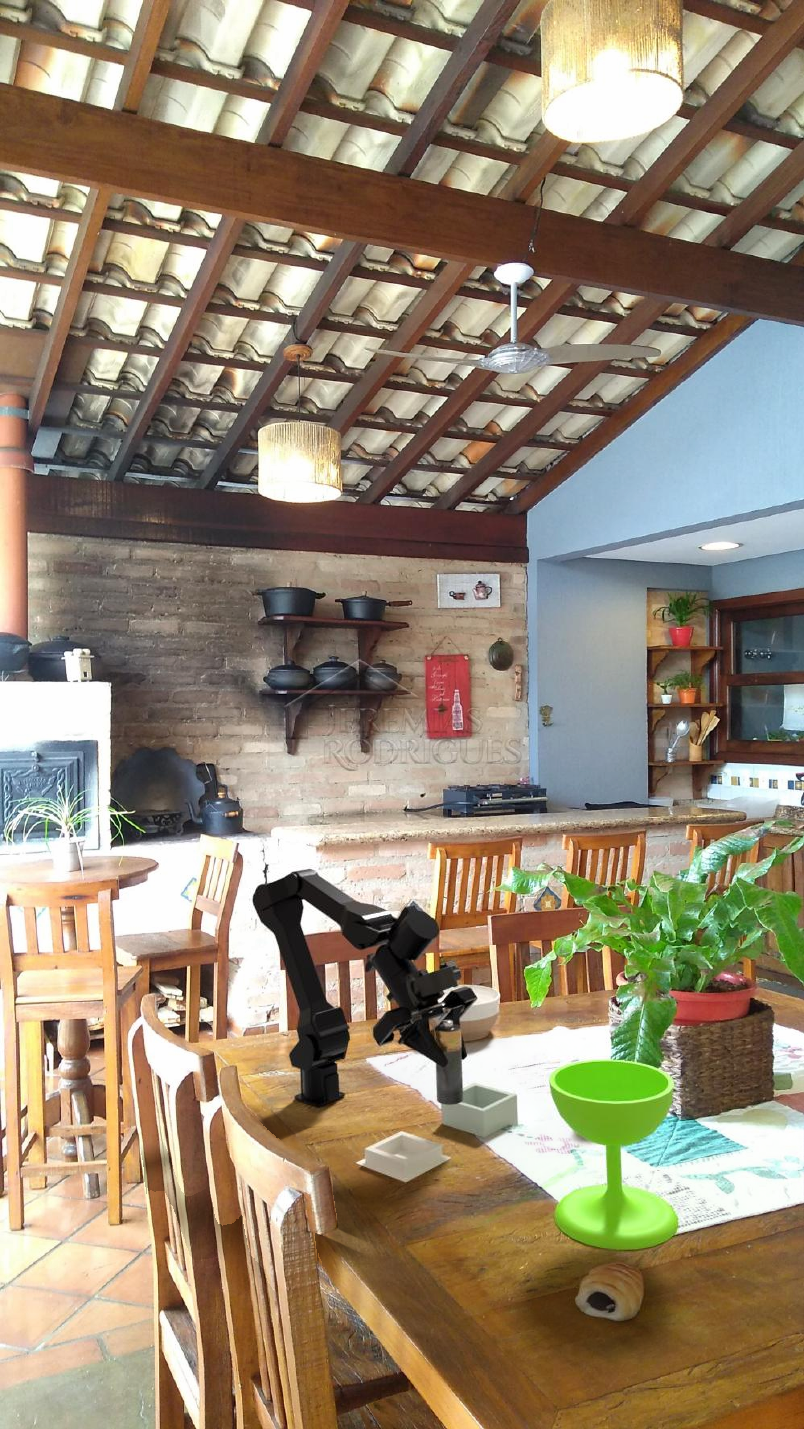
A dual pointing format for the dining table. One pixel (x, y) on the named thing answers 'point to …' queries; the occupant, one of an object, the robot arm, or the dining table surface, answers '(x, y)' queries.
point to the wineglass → (614, 1150)
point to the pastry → (611, 1292)
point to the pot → (481, 1110)
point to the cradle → (403, 1156)
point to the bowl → (476, 1012)
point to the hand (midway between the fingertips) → (455, 1062)
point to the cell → (449, 1064)
